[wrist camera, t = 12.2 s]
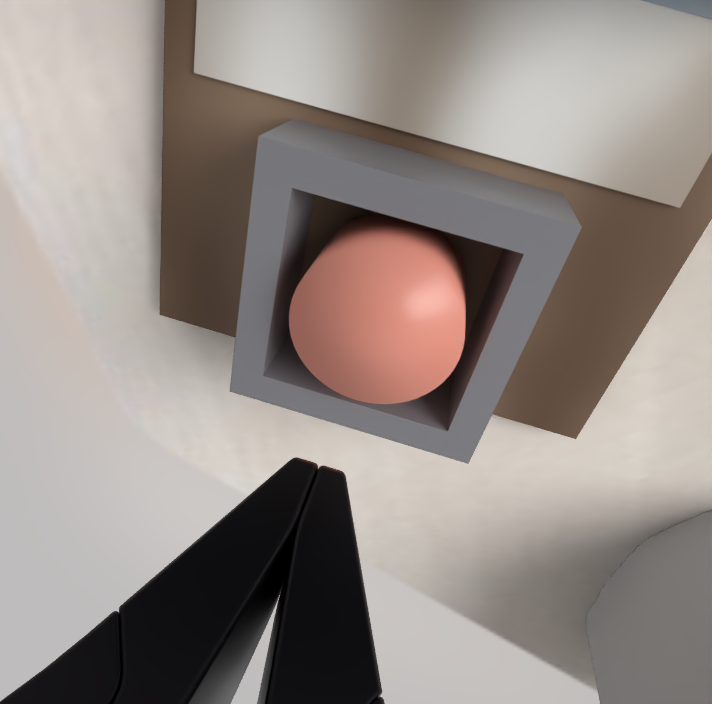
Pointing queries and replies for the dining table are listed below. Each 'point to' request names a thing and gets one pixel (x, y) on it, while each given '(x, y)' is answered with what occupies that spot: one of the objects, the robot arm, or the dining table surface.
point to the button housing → (411, 203)
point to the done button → (381, 310)
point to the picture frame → (456, 149)
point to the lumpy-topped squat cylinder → (657, 621)
